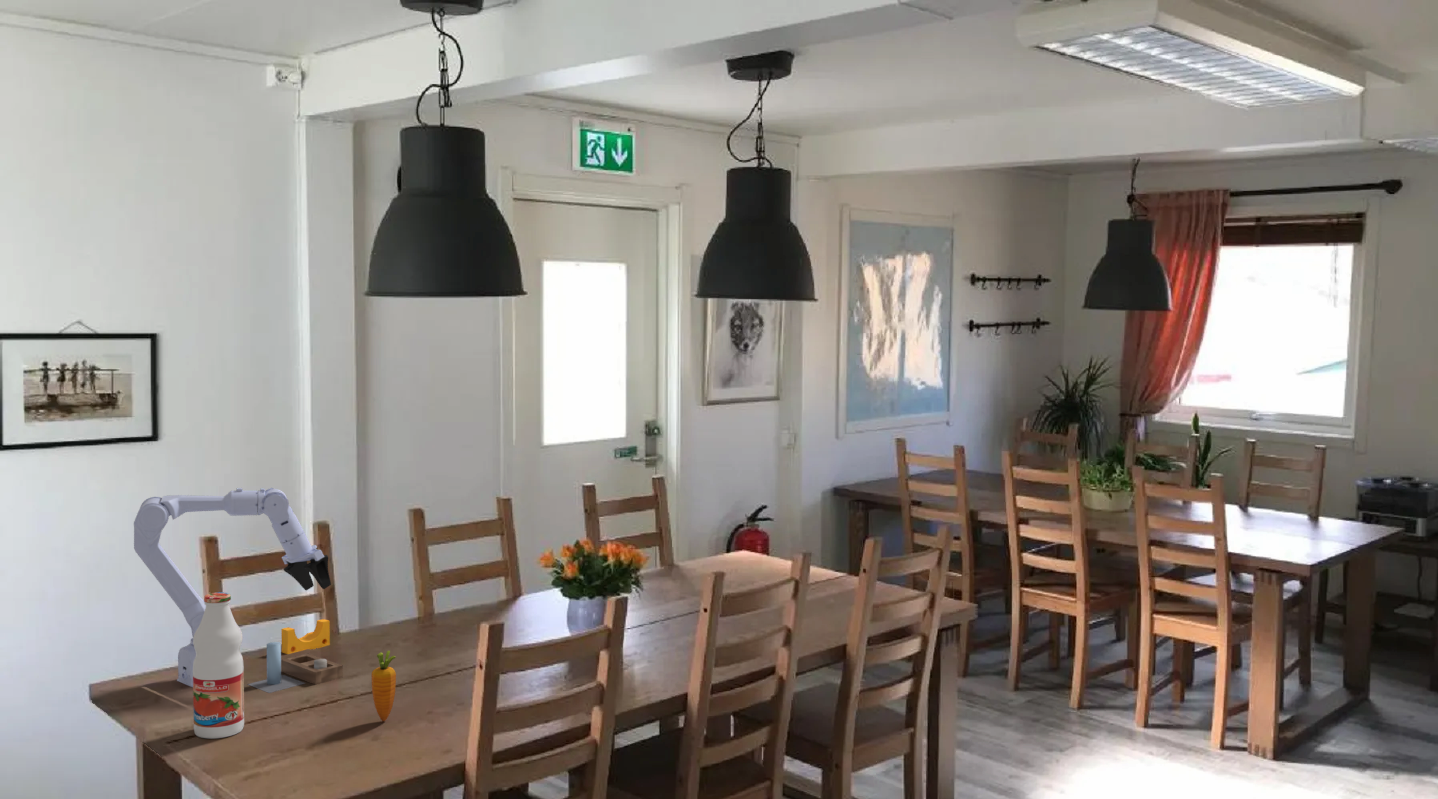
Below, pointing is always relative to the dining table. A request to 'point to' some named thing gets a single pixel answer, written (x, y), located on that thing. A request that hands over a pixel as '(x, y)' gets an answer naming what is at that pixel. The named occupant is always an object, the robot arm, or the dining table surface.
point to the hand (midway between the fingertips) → (318, 587)
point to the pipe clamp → (306, 638)
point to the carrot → (384, 686)
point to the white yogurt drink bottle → (218, 671)
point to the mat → (285, 683)
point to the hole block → (312, 668)
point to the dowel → (273, 663)
